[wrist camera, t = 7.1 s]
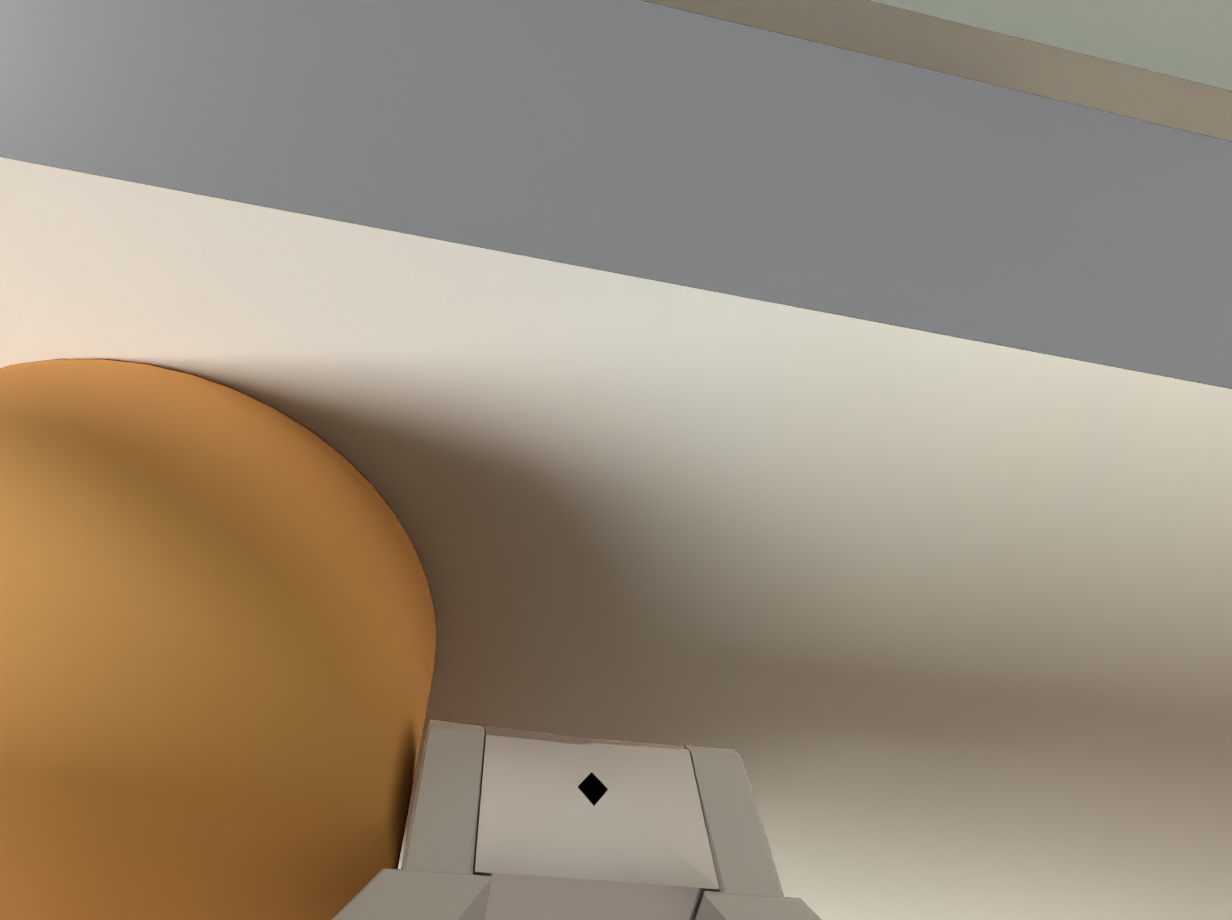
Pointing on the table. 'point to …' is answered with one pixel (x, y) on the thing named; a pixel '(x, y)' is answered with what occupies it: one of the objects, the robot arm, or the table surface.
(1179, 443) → the table surface
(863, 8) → the table surface
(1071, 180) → the panel
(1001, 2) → the panel
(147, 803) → the orange rounded dome
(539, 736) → the robot arm
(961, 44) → the table surface
